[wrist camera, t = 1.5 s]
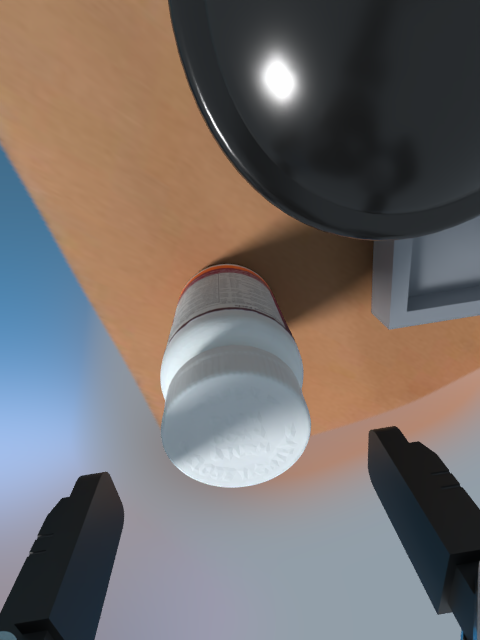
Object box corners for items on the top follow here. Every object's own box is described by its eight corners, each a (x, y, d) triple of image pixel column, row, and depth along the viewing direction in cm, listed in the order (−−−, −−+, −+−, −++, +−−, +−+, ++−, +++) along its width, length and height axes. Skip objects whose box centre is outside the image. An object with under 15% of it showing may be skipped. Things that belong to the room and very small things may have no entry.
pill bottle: (259, 356, 23) (295, 508, 13) (170, 339, 22) (133, 490, 12) (286, 273, 21) (356, 379, 11) (188, 250, 20) (160, 342, 10)
